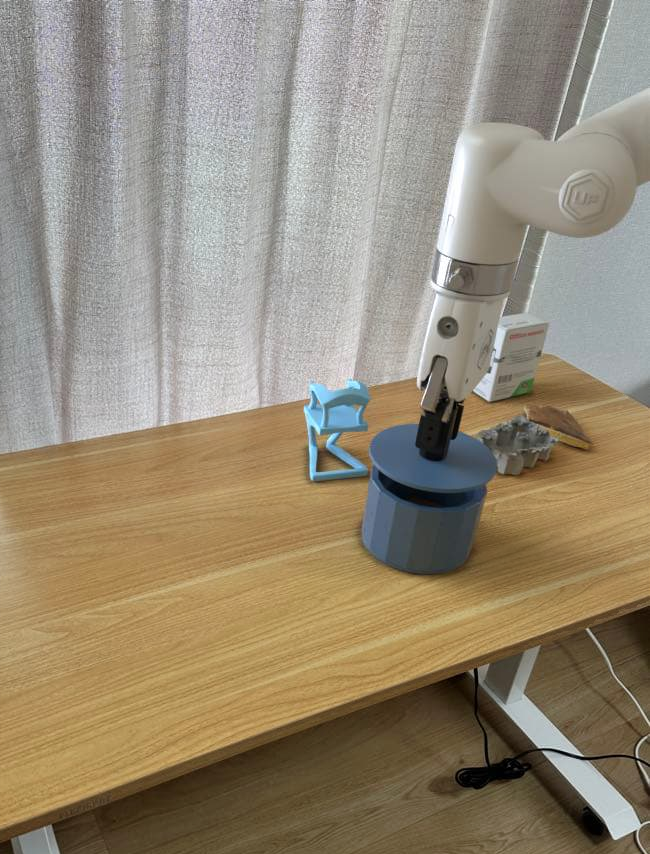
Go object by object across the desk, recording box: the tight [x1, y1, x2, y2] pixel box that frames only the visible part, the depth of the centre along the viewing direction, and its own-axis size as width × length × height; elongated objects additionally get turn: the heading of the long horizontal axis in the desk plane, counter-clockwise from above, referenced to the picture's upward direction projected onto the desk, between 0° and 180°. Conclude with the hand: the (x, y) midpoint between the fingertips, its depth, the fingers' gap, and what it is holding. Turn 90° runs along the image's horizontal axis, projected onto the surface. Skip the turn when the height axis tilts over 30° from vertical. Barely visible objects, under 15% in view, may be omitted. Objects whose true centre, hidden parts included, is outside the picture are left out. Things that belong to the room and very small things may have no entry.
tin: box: [361, 464, 488, 575], centre depth 92 cm, size 13×13×8 cm
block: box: [408, 496, 445, 508], centre depth 93 cm, size 4×4×4 cm
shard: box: [523, 404, 594, 451], centre depth 116 cm, size 11×8×2 cm
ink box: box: [472, 311, 550, 403], centre depth 123 cm, size 9×5×12 cm, turn 116°
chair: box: [303, 378, 371, 482], centre depth 104 cm, size 8×8×12 cm
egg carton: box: [475, 414, 559, 476], centre depth 110 cm, size 11×8×4 cm
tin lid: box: [368, 398, 498, 493], centre depth 86 cm, size 14×14×7 cm
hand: (436, 441), depth 86 cm, fingers closed on tin lid, 3 cm apart
